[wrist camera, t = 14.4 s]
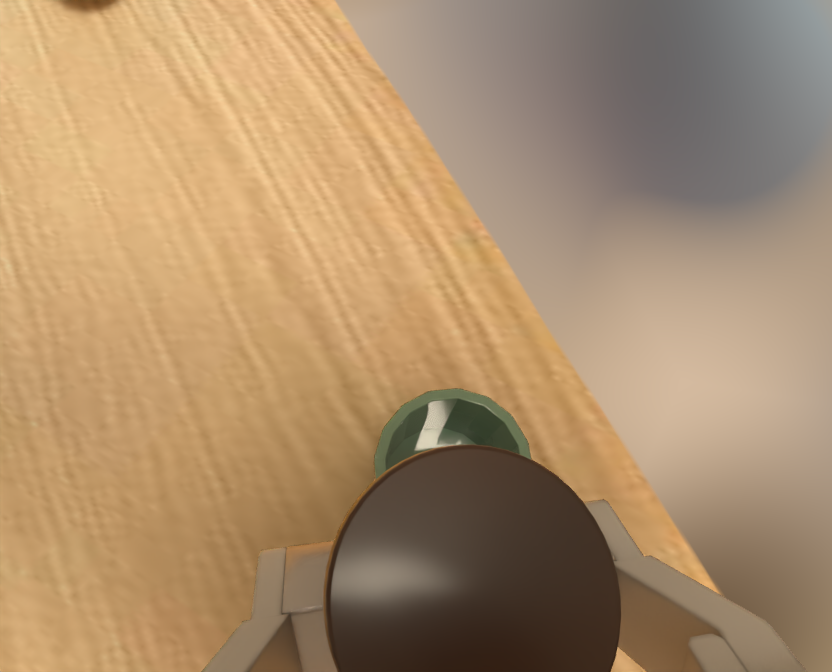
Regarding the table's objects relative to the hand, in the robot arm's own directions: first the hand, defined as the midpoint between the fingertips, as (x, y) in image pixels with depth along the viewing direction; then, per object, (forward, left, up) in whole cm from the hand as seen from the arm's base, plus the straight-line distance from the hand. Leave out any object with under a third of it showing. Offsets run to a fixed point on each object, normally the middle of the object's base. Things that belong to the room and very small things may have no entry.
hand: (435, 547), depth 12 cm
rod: (+1, 0, -9) cm, 9 cm away
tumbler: (-2, +4, -21) cm, 22 cm away
